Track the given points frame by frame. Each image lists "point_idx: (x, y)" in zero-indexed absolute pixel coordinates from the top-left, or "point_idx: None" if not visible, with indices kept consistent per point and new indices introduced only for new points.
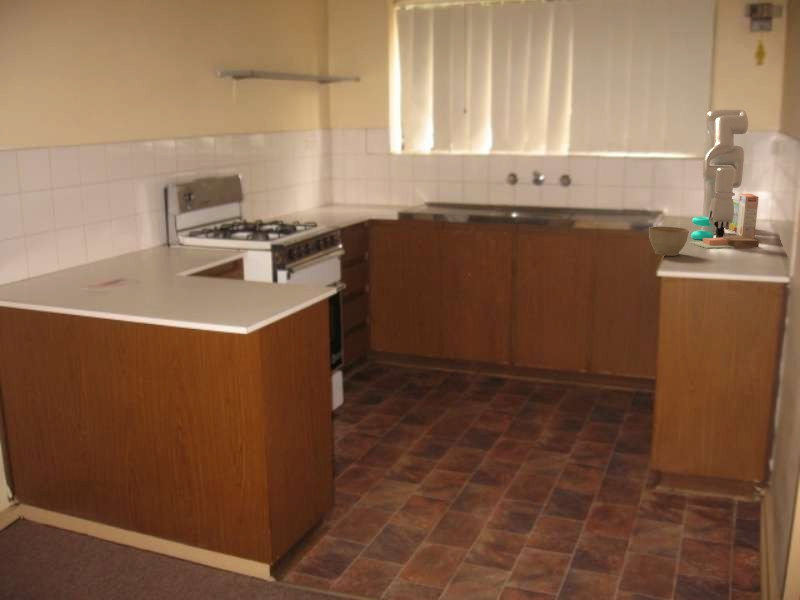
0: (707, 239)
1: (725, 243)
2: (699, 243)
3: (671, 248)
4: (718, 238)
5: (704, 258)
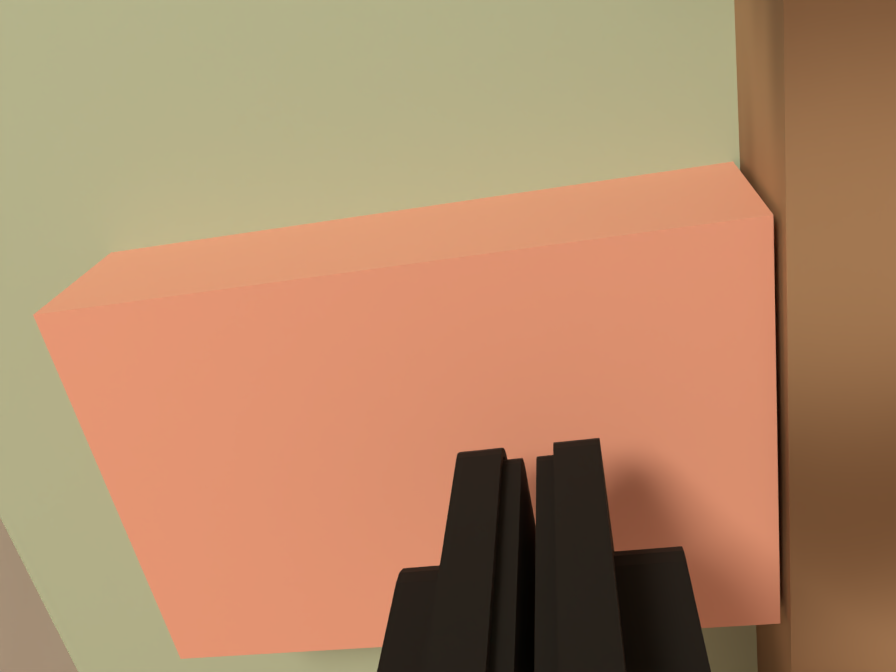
0: (144, 530)
1: None
2: (17, 307)
3: None
4: (573, 362)
5: None
